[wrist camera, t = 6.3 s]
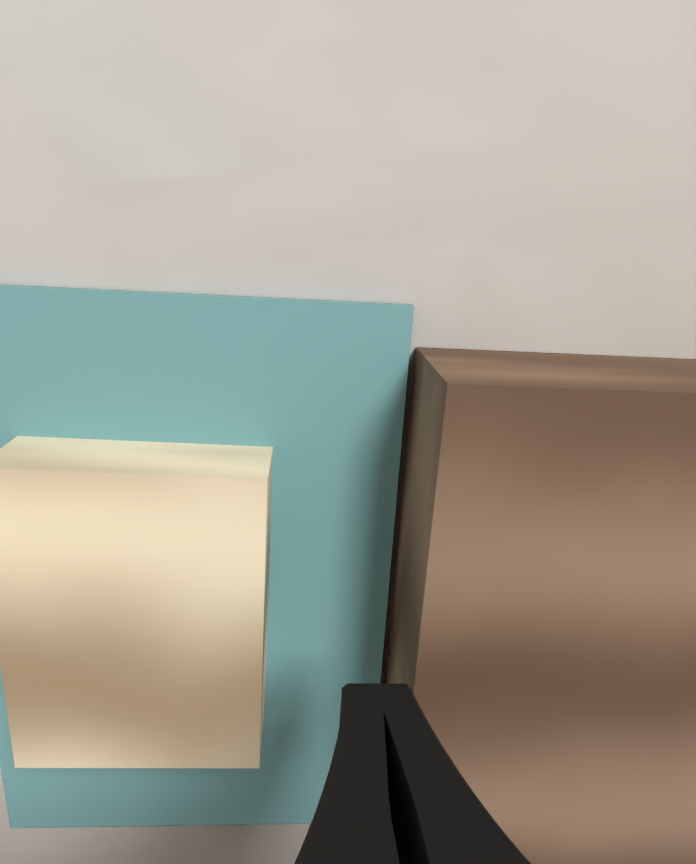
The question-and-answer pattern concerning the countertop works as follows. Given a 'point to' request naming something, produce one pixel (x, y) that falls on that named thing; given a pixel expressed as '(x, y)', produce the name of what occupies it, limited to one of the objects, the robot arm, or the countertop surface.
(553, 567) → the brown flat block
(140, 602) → the maple block
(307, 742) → the mat
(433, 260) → the countertop surface
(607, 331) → the countertop surface
